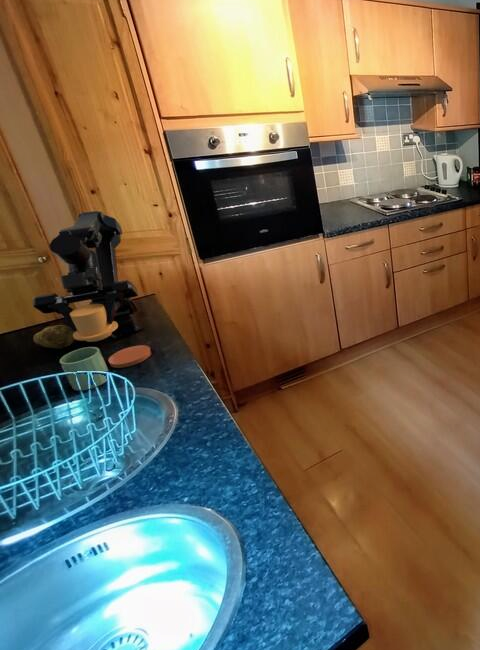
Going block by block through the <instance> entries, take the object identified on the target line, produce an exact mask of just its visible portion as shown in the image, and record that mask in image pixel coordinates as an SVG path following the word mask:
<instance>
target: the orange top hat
mask: <svg viewBox="0 0 480 650" xmlns="http://www.w3.org/2000/svg"><path fill="white" fill-rule="evenodd" d="M70 316H71V318H72V321H73V323H74V325H75V327H76V329H77V332H74V334H73V337H74V339H75V340H76V341H81V342H83V341H85V342H88V343H93V342H99V341H102V340H104V339H107V338H109V337H111V336H110V335H111V333H112V332H113V331H115V330H116V329H117V327H118V324H117V322H115V321H113V322H112V324H108V320H107V312H106V310H105V307H104V305H102V304H90V303H89V304H85V305H83V306H79V307H77V308H74V309H73V311H72V312H71V313H70Z"/></svg>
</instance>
